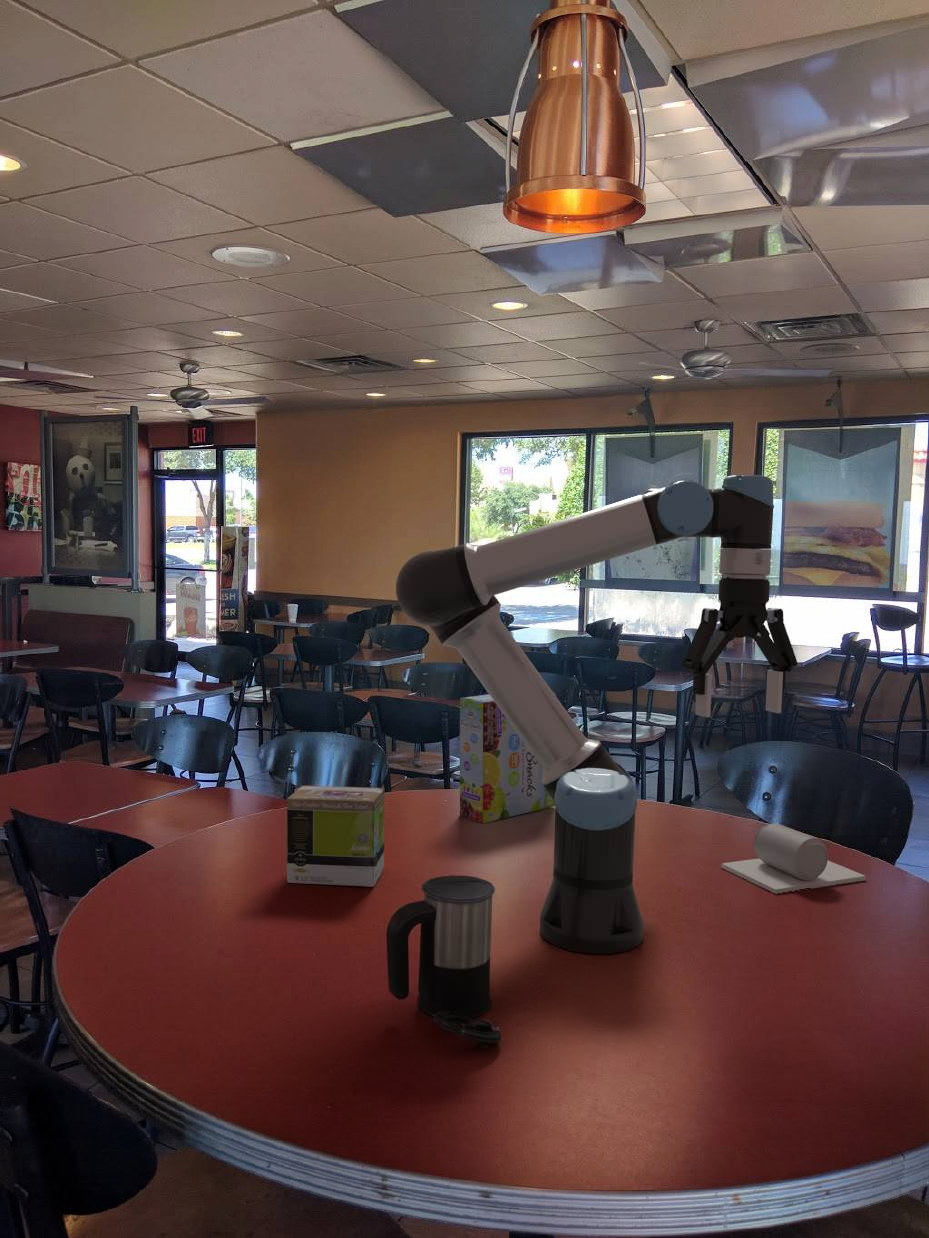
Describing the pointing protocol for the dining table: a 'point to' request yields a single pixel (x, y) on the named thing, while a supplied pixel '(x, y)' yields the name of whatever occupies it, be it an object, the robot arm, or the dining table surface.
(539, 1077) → the dining table surface
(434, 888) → the milk frother
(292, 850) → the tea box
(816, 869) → the can
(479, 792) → the snack box
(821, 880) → the placemat
